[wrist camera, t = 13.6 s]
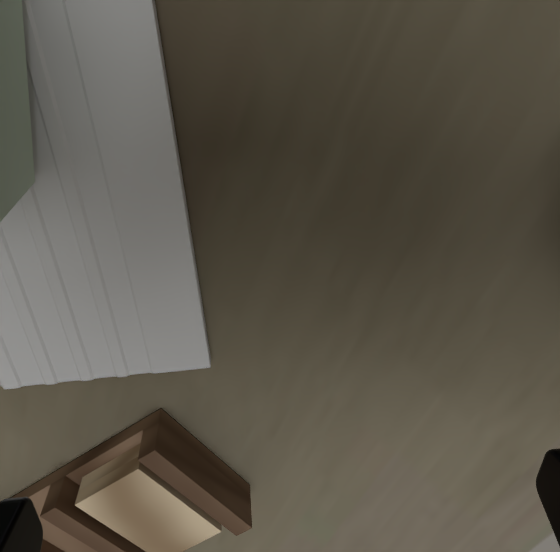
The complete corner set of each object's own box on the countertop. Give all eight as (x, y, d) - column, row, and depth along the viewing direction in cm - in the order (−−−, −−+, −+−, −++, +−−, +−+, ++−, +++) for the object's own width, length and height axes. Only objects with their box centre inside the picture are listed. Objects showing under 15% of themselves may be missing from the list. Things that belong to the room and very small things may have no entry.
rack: (161, 408, 25) (154, 450, 23) (249, 484, 28) (251, 528, 26) (-7, 508, 27) (-28, 555, 25) (94, 567, 31) (83, 613, 29)
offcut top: (140, 454, 24) (138, 468, 23) (221, 517, 27) (221, 531, 26) (78, 490, 25) (74, 505, 24) (163, 547, 28) (162, 562, 27)
